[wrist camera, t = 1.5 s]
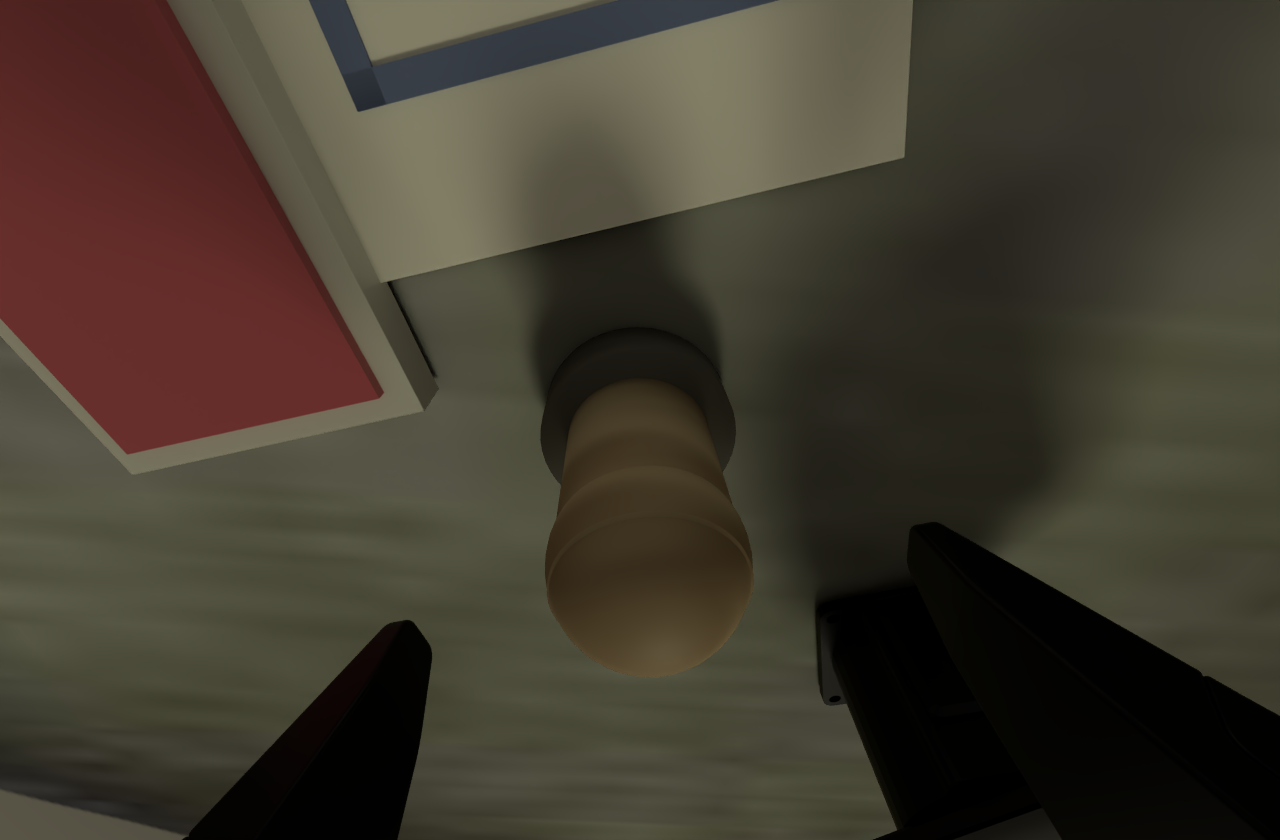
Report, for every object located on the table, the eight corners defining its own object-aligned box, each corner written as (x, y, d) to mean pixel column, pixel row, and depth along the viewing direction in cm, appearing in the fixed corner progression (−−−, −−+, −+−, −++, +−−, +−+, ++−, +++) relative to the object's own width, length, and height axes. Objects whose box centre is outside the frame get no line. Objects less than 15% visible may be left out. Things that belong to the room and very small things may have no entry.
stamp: (734, 463, 15) (822, 715, 9) (575, 495, 16) (549, 760, 9) (711, 308, 13) (812, 504, 6) (522, 350, 13) (433, 578, 7)
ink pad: (438, 388, 13) (420, 417, 12) (167, 448, 14) (122, 482, 13) (184, -135, 8) (104, -182, 7) (-230, -6, 9) (-373, -27, 8)
